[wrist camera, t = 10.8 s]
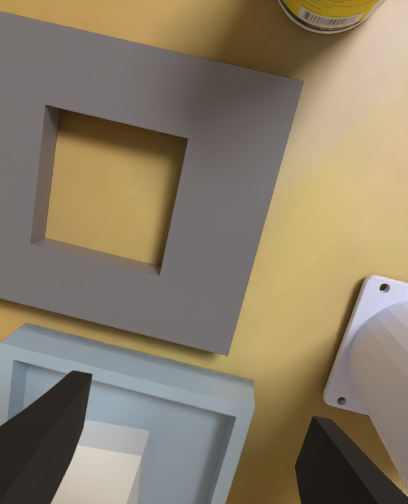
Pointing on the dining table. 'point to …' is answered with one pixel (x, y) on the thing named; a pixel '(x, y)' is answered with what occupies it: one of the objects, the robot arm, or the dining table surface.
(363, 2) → the supplement bottle
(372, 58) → the dining table surface
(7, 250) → the block
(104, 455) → the block
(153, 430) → the parts tray
